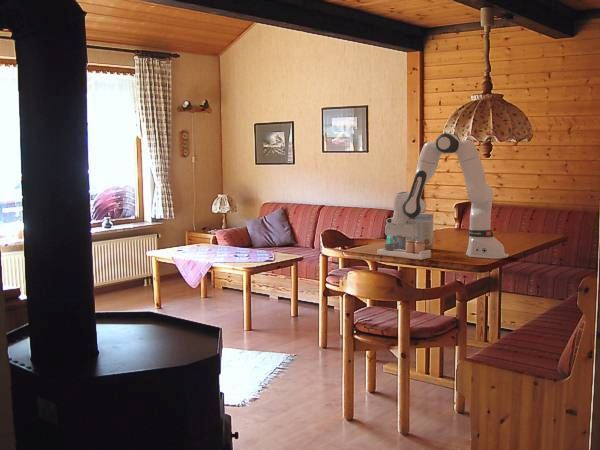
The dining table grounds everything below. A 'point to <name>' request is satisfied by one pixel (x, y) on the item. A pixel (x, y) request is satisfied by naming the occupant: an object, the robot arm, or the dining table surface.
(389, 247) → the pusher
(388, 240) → the decorative dice
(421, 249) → the jar front
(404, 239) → the blue jar
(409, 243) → the jar
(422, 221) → the cracker box
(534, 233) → the dining table surface
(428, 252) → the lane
